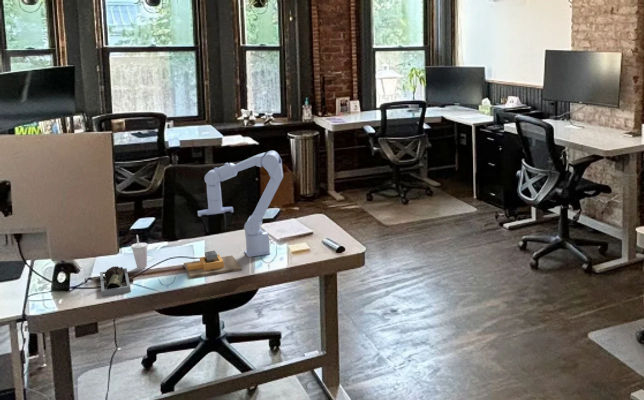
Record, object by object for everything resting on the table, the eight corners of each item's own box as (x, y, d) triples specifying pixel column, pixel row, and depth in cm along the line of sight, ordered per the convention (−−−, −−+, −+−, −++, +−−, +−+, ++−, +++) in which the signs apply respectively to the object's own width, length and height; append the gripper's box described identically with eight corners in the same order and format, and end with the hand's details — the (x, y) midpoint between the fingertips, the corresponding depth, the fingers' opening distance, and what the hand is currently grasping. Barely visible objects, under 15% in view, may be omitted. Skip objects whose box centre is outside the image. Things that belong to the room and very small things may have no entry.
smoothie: (130, 269, 255) (126, 236, 252) (140, 264, 261) (136, 231, 258) (144, 271, 253) (139, 237, 250) (153, 265, 259) (149, 232, 255)
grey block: (215, 264, 257) (214, 250, 255) (218, 268, 252) (217, 254, 251) (205, 266, 256) (204, 252, 254) (208, 270, 251) (206, 255, 249)
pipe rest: (127, 273, 252) (126, 268, 251) (130, 291, 233) (130, 286, 232) (100, 277, 249) (99, 272, 248) (102, 296, 229) (101, 291, 229)
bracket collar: (219, 260, 259) (219, 254, 258) (223, 267, 251) (223, 261, 250) (186, 265, 254) (185, 259, 254) (189, 272, 246) (189, 266, 246)
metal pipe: (121, 293, 233) (119, 278, 231) (102, 295, 231) (99, 281, 230) (126, 275, 249) (124, 262, 248) (108, 277, 248) (106, 264, 247)
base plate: (232, 257, 264) (232, 255, 264) (241, 270, 249) (241, 267, 249) (183, 265, 258) (183, 263, 257) (190, 278, 243) (189, 276, 243)
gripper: (229, 194, 269) (232, 225, 273) (195, 199, 264) (198, 230, 268) (233, 198, 263) (235, 230, 266) (198, 202, 258) (201, 234, 261)
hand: (217, 230), depth 267 cm, fingers open, 7 cm apart
